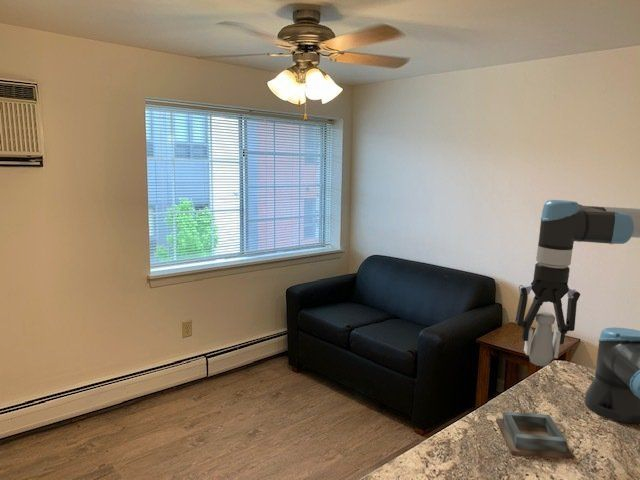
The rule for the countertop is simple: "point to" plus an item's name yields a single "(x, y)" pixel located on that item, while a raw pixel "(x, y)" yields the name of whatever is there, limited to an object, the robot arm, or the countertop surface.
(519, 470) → the countertop surface
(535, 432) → the collar socket
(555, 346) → the robot arm
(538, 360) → the salt shaker
